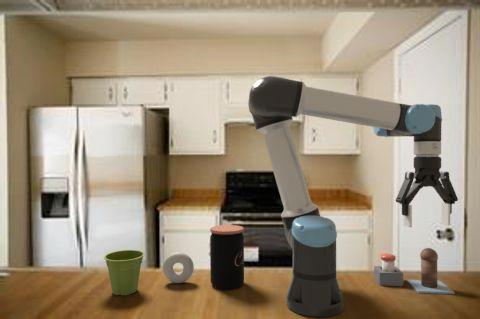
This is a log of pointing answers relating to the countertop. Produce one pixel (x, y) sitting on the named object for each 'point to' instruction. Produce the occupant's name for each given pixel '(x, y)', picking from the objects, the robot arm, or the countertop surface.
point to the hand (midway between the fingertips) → (426, 225)
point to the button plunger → (388, 262)
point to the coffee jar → (227, 256)
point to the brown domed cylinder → (429, 268)
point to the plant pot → (124, 270)
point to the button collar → (388, 277)
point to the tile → (421, 289)
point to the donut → (178, 276)
